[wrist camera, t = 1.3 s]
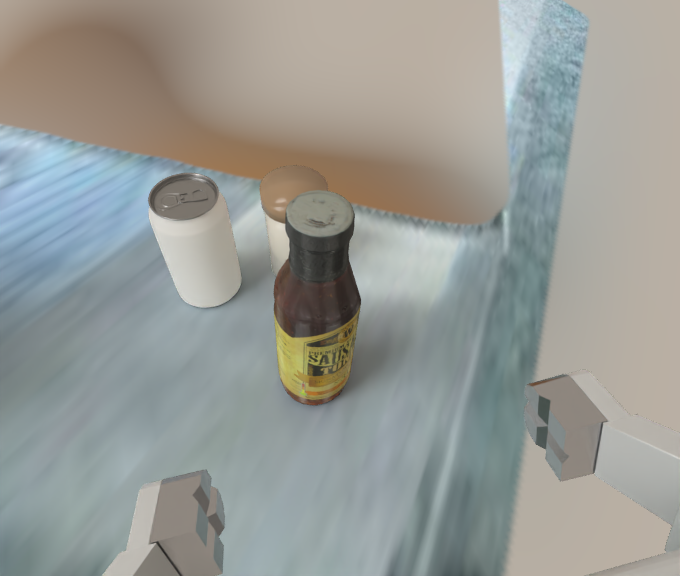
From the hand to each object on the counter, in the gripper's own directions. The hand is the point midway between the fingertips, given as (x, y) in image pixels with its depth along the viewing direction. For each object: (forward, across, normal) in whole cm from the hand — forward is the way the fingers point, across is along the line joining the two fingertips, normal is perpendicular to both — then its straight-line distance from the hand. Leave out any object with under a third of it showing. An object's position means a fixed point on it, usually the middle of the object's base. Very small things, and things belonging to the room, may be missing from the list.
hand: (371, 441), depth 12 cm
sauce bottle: (+25, +2, +20) cm, 32 cm away
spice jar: (+37, +2, +15) cm, 40 cm away
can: (+36, +11, +14) cm, 40 cm away
